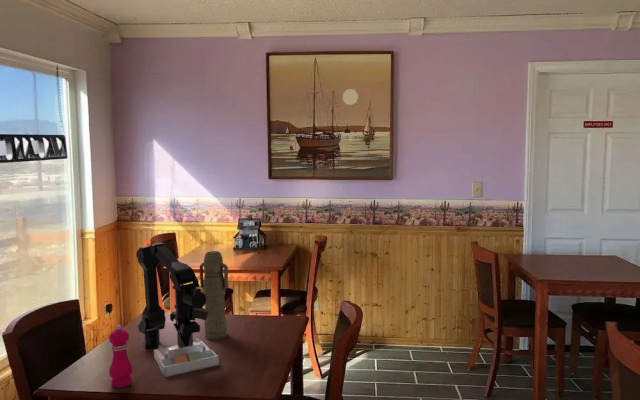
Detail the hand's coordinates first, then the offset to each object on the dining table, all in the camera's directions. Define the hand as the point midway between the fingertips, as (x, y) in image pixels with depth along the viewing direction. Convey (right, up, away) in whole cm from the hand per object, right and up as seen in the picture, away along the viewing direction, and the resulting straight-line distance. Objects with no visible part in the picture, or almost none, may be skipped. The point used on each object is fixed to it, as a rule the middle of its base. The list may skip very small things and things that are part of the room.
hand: (185, 344), depth 191 cm
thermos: (+6, -4, +28) cm, 29 cm away
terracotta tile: (-1, -6, -3) cm, 6 cm away
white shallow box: (-3, -6, +6) cm, 9 cm away
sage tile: (+3, -5, 0) cm, 6 cm away
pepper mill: (-17, -9, -15) cm, 25 cm away
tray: (+2, -7, -3) cm, 8 cm away
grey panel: (0, -4, 0) cm, 4 cm away
